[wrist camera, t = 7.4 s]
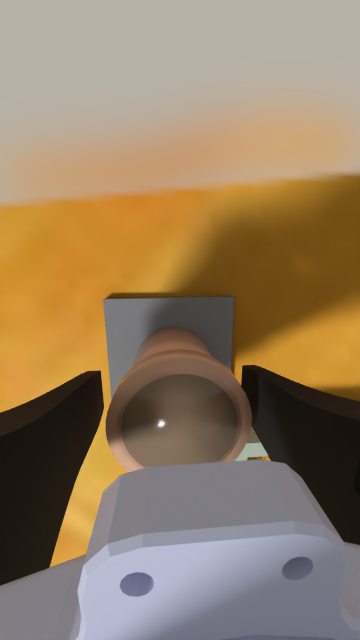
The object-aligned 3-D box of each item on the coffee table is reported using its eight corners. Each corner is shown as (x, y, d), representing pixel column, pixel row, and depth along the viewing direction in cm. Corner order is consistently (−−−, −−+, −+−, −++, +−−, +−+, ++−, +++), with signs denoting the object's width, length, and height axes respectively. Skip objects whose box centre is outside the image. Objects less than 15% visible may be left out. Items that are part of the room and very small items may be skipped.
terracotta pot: (232, 341, 15) (278, 391, 9) (194, 414, 16) (213, 502, 10) (149, 306, 14) (139, 335, 8) (115, 386, 15) (83, 464, 9)
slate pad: (232, 296, 15) (234, 297, 14) (227, 406, 16) (229, 411, 16) (105, 298, 14) (103, 299, 14) (114, 412, 16) (113, 416, 15)
